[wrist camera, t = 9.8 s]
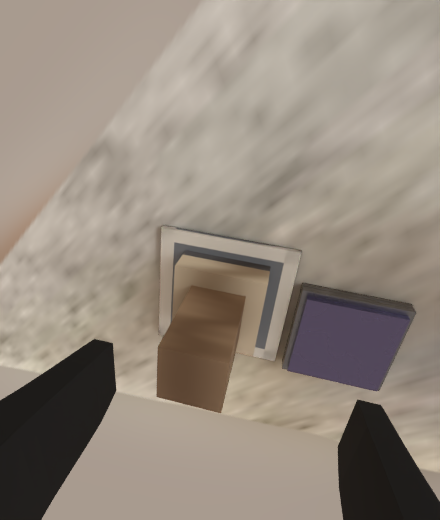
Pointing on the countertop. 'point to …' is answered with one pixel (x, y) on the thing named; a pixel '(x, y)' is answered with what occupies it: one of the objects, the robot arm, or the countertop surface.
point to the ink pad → (345, 336)
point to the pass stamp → (209, 327)
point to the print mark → (238, 249)
